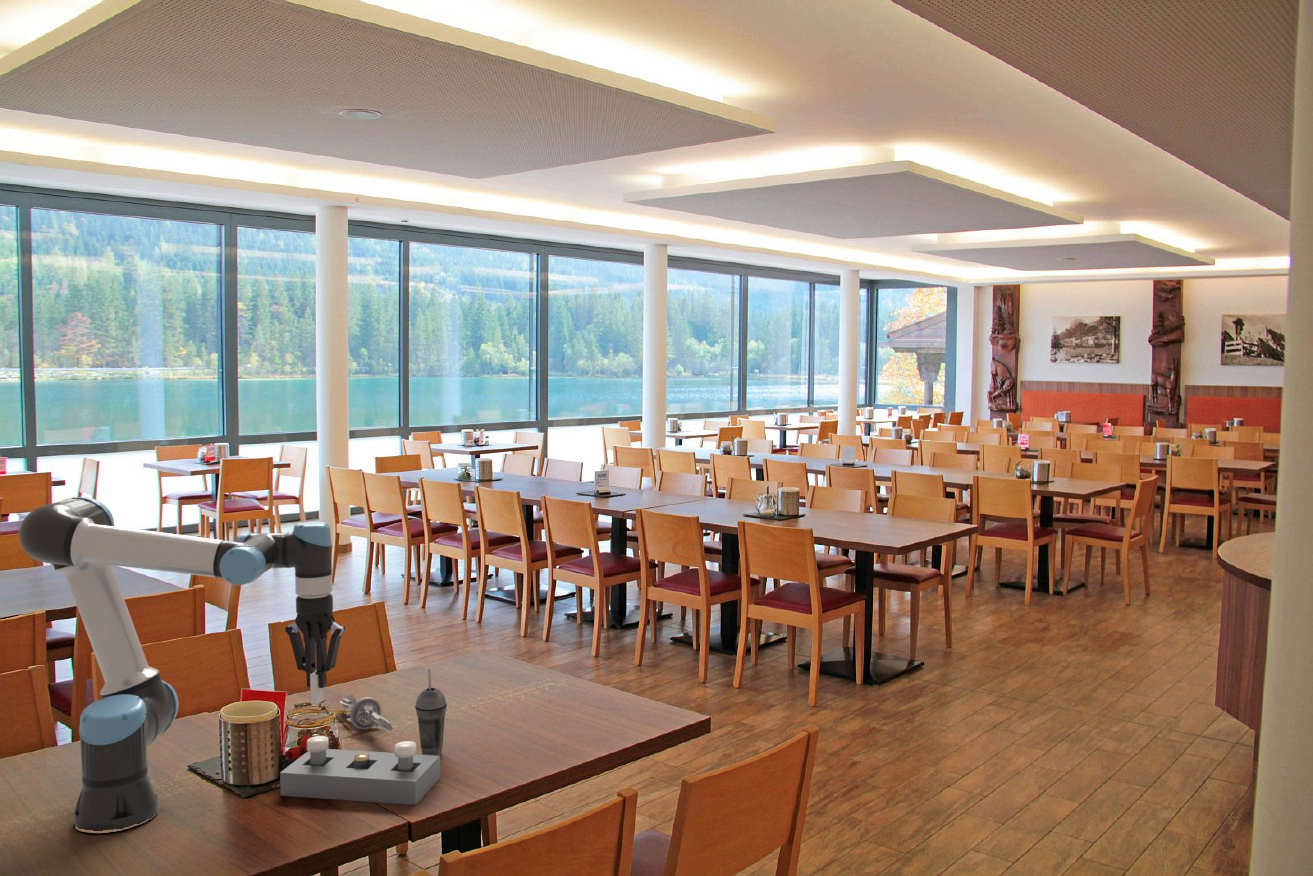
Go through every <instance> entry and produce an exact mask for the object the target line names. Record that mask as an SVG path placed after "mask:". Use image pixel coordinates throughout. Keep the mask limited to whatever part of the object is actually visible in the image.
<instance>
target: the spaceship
mask: <svg viewBox="0 0 1313 876" xmlns="http://www.w3.org/2000/svg"><path fill="white" fill-rule="evenodd" d="M339 702H340V704H341V705H342V708H343V710H345V711H346V710H347V711H348V710H349V712H350V711H351V714H347V713H345V715H346V717H347V718H346V719H345V720H346V721H348V722H351V723H352V726H354V727H355V728H356V729H358V730H361V731H362V730H363V731H366V730H367V731H368V730H370V729H372V728H374V727H381V728H384V729H386V730H387V731H393V726H392V724H391V721H389V720H387V719H386V718H385V716H382V712H383V711H382V706H381V704H380V702H379V701H378V700H377V699H375V698H373V697H370V696H369V697H363V698H361V699H359V700H357V701H356V697H355V694H352V695H348V696H346V697H344V698H342V699H341V700H340V701H339ZM365 706H366V707H365ZM360 719H361V720H360ZM366 721H367V722H366Z"/></svg>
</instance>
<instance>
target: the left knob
mask: <svg viewBox="0 0 1313 876" xmlns="http://www.w3.org/2000/svg"><path fill="white" fill-rule="evenodd" d="M327 749H330V748H329V737H328V736H326V735H317V736H316V735H315V736H312V737H309V738H308V739H307V741H306V750H307V752H308V751H309V752H310V764H319V765H321V764H322V763H323V762H325V761H326V750H327Z"/></svg>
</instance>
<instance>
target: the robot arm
mask: <svg viewBox="0 0 1313 876" xmlns="http://www.w3.org/2000/svg"><path fill="white" fill-rule="evenodd" d="M331 537H332V536H331V527H330V525H329V524H328V523H327V522H324V521H303V522H298V523H296V524H295V525H293V530H292V532H275V533H274V532H255V531H254V532H251V533H250V532H249V533H241V534H239V535H237V536H236V537H235V540H234V541H233V540H231V541H230V540H224V539H216V538H209V537H201V536H193V535H186V534H185V535H184V534H179V533H178V534H177V533H176V534H175V533H169V532H160V531H154V530H153V531H152V530H145V529H136V528H127V527H123V526H115V519H114V517H113V514H112V512H111V511H110V509H109V508H108V507H107V506H106V505H105V504H104V503H102V502H101V501H99V500H98V499H95V498H91V497H88V496H80V497H79V496H78V497H77V496H75V497H71V498H70V497H69V498H65V499H63V500H60V501H56V502H53V503H48V504H44V505H42V506H39V507H36V508H35V509H33V510H32V511H30V512H29V513H28V514H27V515H26V516H25V517H24V518H23V520H22V521H21V524H20V527H19V530H18V539H19V544H20V546H21V548H22V550H23V551H24V552H25V553H26V554H27V555H28V556H29V557H30V558H31V559H34V560H35V561H38V562H41V563H46V564H51V565H52V566H53V569H54V571H55V572H57V573H58V574H61V575H63V576H65V577H66V579H67V582H68V585H69V588H70V590H71V594H72V597H73V598H74V600H75V604H76V607H77V609H78V612H79V615H80V618H81V620H82V623H83V625H84V629H85V632H86V634H87V637H88V639H89V641H90V645H91V647H92V651H93V652H94V653H93V654H94V656H95V658H96V661H97V664H98V666H99V668H100V673H101V674H102V677H103V680H104V684H103V686H102V688H101V690H100V692H99V693H100V696H101V699H97V700H96V701H93V702H91V703H90V704H88V705H87V706H86V707H85V708H84V709H83V710H82V712H81V714H80V718H79V727H78V735H79V742H80V763H81V779H82V780H81V781H82V782H81V783H82V785H81V789H80V792H79V795H78V798H77V802H76V805H75V808H74V812H73V825H74V824H75V826H76V827H78V828H79V829H85V830H93V831H103V830H110V829H111V830H113V829H123V828H125V827H129V826H132V825H134V824H140V823H142V822H144V821H146V820H147V819H150V818H152V817H153V816H154V815H156V814H157V813H158V814H159V812H158V810H159V811H160V807H159V803H160V802H159V798H158V795H157V794H156V793H155V789H154V787H153V785H152V781H151V779H150V776H149V774H148V773H149V772H148V769H149V768H148V747H149V746H150V745H152V743H153V742H155V740H157V739H158V738H159V737H161V735H163V734H165V732H167V731H168V730H169V728H170V726H172V724H173V722H174V720H175V719H176V717H177V714H178V713H179V703H180V702H179V697H178V694H177V692H176V690H175V689H174V687H173V686H172V685H171V684H170V683H167V682H165V681H164V680H162V676H161V673H160V671H159V669H157V668H154V667H152V666H149V663H148V660H147V658H146V655H145V653H144V651H143V648H142V645H141V642H140V639H139V636H138V632H137V631H136V629H135V626H134V622H133V619H132V617H131V614H130V611H129V609H128V606H127V603H126V601H125V597H124V595H123V592H122V590H121V587H120V584H119V581H118V577H117V576H116V573H115V570H114V568H113V566H116V567H124V568H125V567H126V568H134V569H141V570H150V571H151V570H152V571H159V572H168V573H177V574H186V575H194V576H199V577H200V576H201V577H209V578H210V577H211V578H219V579H222V580H225V581H226V582H228V583H230V584H232V585H234V586H235V585H236V586H243V585H247V584H250V583H252V582H255V581H256V580H257V579H259V578H260V577H261V576H262V575H263V574H264V573H266V572H267V571H269V570H271V569H284V568H285V569H291V568H294V577H295V580H294V581H295V583H294V584H295V585H294V586H295V590H294V591H295V592H294V593H295V595H297V596H296V597H295V611H296V617H295V620H294V622H293V623H291V624H289V625H287V626H285V628H284V630H285V633H286V634H287V635H288V638H289V640H290V645H291V647H292V652H293V655H294V659H295V663H296V664H295V665H296V668H297V670H298V671H303V672H305V674H306V686H307V688H310V704H311V705H319V703H321V702H324V688H325V687H327V685H328V684H327V682H328V681H327V680H328V679H327V672H329V671H331V670H333V669H334V668H335V667H336V663H337V658H338V653H339V649H340V643H341V638H342V635H343V634H344V633H345V631H346V626H344V625H339V624H338V623H337V622H336V619H335V617H334V615H333V611H334V597H333V594H332V591H333V569H332V566H333V564H332V562H333V561H332V548H333V547H332V545H333V543H332V538H331ZM330 630H331V632H330ZM329 632H330V633H331V634H332V635H331V637H330V640H329V644H328V645H327V640H328V634H329ZM301 634H302V635H301ZM302 637H303V638H302ZM303 642H304V643H303ZM327 646H328V647H327ZM158 814H157V815H158ZM157 815H156V816H157Z"/></svg>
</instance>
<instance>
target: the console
mask: <svg viewBox="0 0 1313 876" xmlns="http://www.w3.org/2000/svg"><path fill="white" fill-rule="evenodd" d="M359 753H367V754H369V768H368V769H356V768H354V755H356V754H359ZM279 775H280V777H279V778H280V779H279V781H280V796H282V797H283V796H284V797H294V798H295V797H296V798H298V797H299V798H313V799H323V800H324V799H326V800H338V801H353V802H354V801H355V802H369V803H383V804H397V805H410V806H411V805H413V806H416V805H417V804H418V803H419V802H420V801H421V800H422V799H423V798H424V796H426V795H427V794H428V792H429V791H430V790H431V789H432V788H433V787H434V785H436V783H437V782H438V781H439V780H440V779H441V755H440V756H435V755H422V754H418V753H416V755H414V756H413V767H412V768H411V769H410V770H398V757H396V756H395V752H385V751H370V750H369V751H366V750H353V749H351V750H349V749H333V748H328V749H327V750H326V761H325V762H323V763H322V764H321V765H319V764H310V752H309V751H307V752H305V753H304V754H302V755H301V756H300V757H299V758H297V759H296V760H294V761H293V762H292V763H290V764H289V765H288V766H286V768H284V769H283V770H282V771H280V772H279Z"/></svg>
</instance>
